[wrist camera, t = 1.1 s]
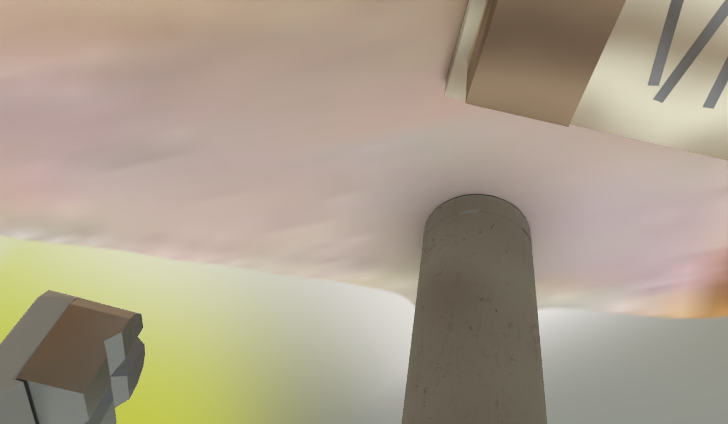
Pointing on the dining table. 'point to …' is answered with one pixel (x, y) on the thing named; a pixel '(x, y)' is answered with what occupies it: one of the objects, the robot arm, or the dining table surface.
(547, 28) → the block
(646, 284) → the dining table surface
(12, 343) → the robot arm
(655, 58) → the board
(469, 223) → the thermos bottle
